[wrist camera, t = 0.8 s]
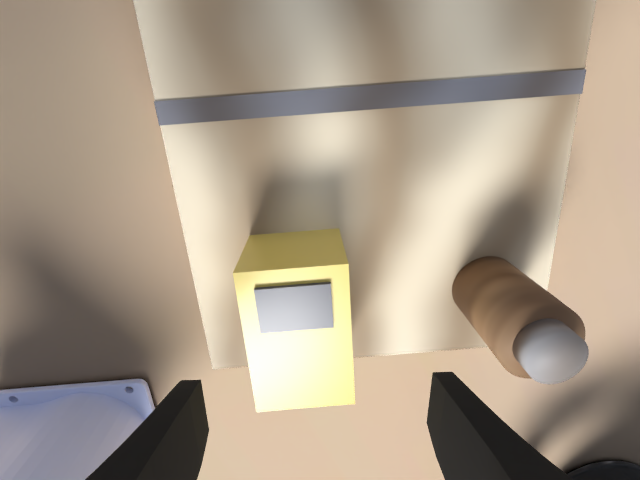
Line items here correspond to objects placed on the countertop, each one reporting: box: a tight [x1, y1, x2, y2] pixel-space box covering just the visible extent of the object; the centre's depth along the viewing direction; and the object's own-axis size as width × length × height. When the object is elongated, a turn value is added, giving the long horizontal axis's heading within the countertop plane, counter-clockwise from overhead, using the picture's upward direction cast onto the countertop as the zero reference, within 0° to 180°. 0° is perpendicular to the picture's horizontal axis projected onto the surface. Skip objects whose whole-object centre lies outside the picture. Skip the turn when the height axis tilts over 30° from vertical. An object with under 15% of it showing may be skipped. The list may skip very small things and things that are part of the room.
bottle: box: [452, 256, 588, 384], centre depth 17 cm, size 4×4×6 cm
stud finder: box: [233, 228, 355, 412], centre depth 17 cm, size 4×7×5 cm, turn 4°
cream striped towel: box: [133, 0, 596, 369], centre depth 18 cm, size 19×20×1 cm
